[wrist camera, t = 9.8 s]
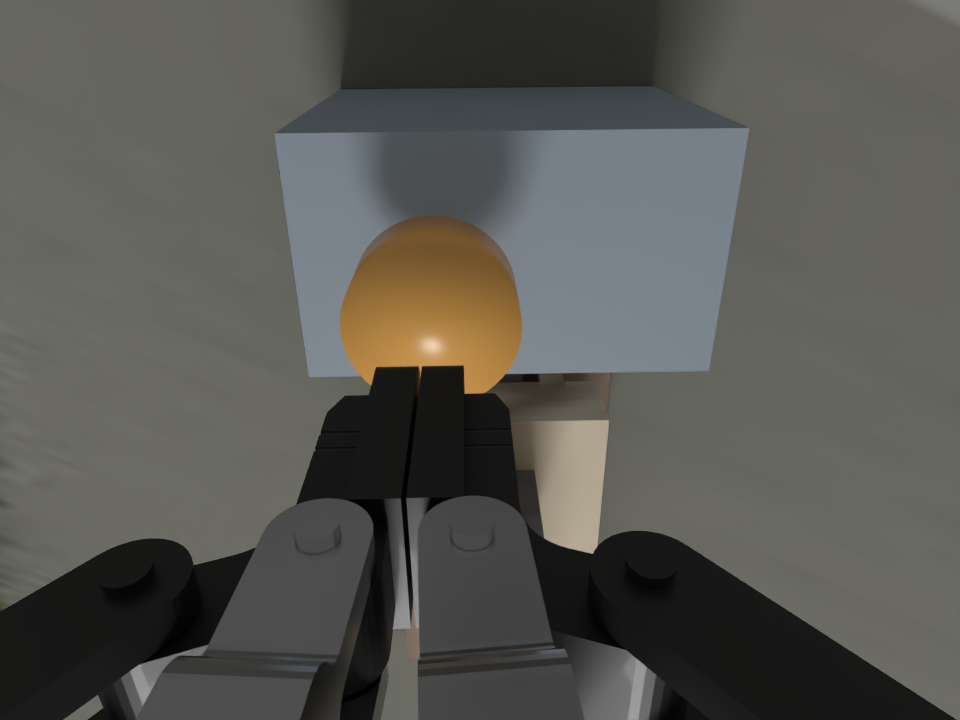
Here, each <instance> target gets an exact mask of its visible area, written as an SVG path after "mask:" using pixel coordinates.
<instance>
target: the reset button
mask: <svg viewBox="0 0 960 720" xmlns="http://www.w3.org/2000/svg"><path fill="white" fill-rule="evenodd" d="M340 332H341V338H342V343H343V346H344V349H345V352H346V354H347V356H348V358H349V360H350V362H351V363H352V365H353V366H354V368H355V369H356V371H357V372H358V373H359V374H360V375H361V376H362V378H363V379H364V380H365V381H366V382H368V383H369V384H370V385H372V380H373V376H374V372H375V369H376V367H400V366H419V369H420V378H421V370H422V366H455V365H464V383H465V394H476V393H485V392H487V391H488V390H489V389H491V388H492V387H493V386H495V385H496V384H497V383H498V382H499V381H500V380H501V379H502V378H503V377H504V375H505V374H506V373H507V371H508V370H509V369H510V367H511V365H512V363H513V362H514V360H515V358H516V355H517V353H518V350H519V346H520V342H521V336H522V316H521V311H520V305H519V299H518V293H517V288H516V282H515V277H514V273H513V270H512V267H511V264H510V263H509V261H508V259H507V257H506V255H505V253H504V252H503V251H502V249H501V248H500V246H499V245H498V244H497V243H496V242H495V241H494V240H493V239H492V238H491V237H490V236H489V235H487V234H486V233H485V232H484V231H482V230H481V229H479V228H477V227H476V226H474V225H472V224H470V223H468V222H465V221H462V220H459V219H456V218H452V217H447V216H436V215H429V216H419V217H414V218H410V219H407V220H404V221H401V222H399V223H397V224H395V225H393V226H391V227H389V228H388V229H386V230H385V231H383V232H382V233H380V234H379V235H378V236H377V237H376V238H375V239H374V240H373V241H372V242H371V243H370V245H369V246H368V247H367V248H366V250H365V252H364V253H363V255H362V257H361V259H360V261H359V263H358V266H357V268H356V270H355V273H354V275H353V278H352V280H351V282H350V285H349V287H348V290H347V292H346V294H345V297H344V299H343V303H342V307H341V313H340Z"/></svg>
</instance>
